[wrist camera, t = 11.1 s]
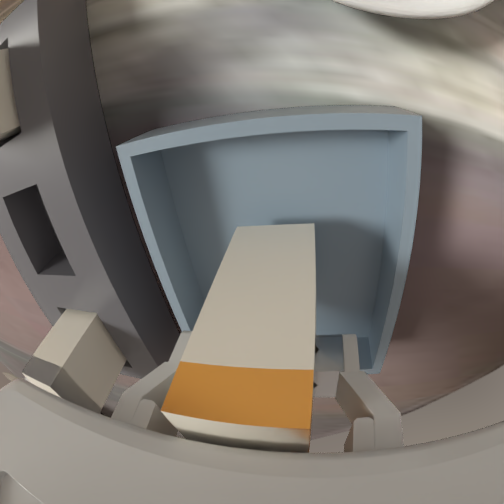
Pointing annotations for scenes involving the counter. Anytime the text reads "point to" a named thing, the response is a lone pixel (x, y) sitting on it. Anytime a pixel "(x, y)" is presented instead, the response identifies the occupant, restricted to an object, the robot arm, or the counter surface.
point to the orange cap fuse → (253, 346)
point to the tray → (286, 205)
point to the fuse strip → (73, 189)
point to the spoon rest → (418, 7)
